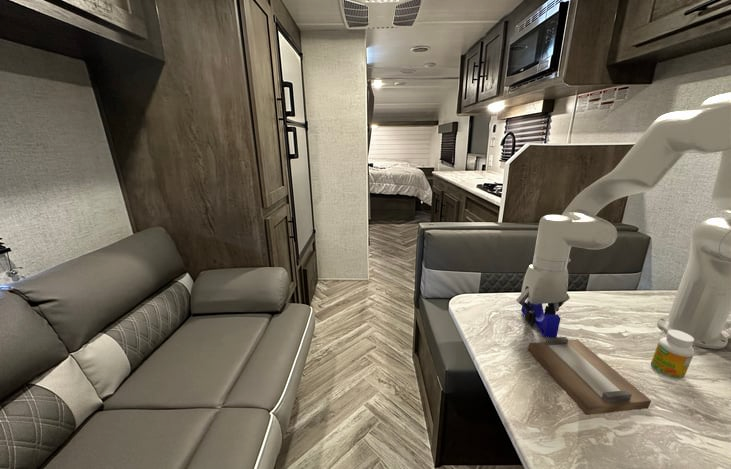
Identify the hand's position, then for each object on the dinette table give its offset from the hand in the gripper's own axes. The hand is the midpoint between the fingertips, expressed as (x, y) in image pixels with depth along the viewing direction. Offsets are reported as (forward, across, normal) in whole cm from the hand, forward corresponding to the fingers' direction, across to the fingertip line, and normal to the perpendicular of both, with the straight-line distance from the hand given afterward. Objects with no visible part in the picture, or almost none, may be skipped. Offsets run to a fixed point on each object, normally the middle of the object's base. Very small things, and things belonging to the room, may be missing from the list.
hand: (538, 321), depth 81 cm
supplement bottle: (+2, -17, +19) cm, 26 cm away
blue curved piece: (+1, 0, 0) cm, 1 cm away
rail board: (+1, +3, +18) cm, 18 cm away
